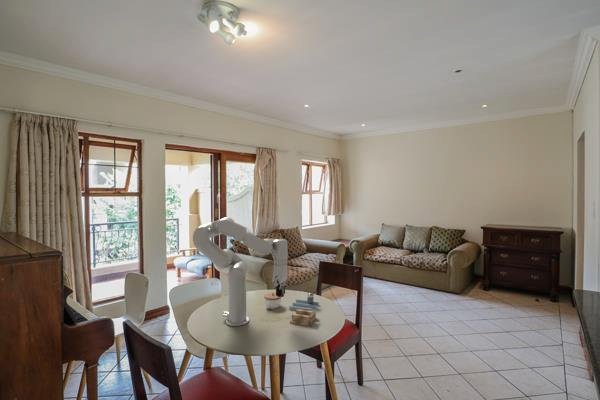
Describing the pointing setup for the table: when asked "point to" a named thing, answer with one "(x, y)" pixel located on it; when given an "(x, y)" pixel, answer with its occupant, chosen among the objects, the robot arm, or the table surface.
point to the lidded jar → (272, 300)
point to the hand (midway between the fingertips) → (280, 294)
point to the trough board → (304, 305)
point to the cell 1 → (282, 289)
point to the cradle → (303, 317)
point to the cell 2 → (310, 298)
